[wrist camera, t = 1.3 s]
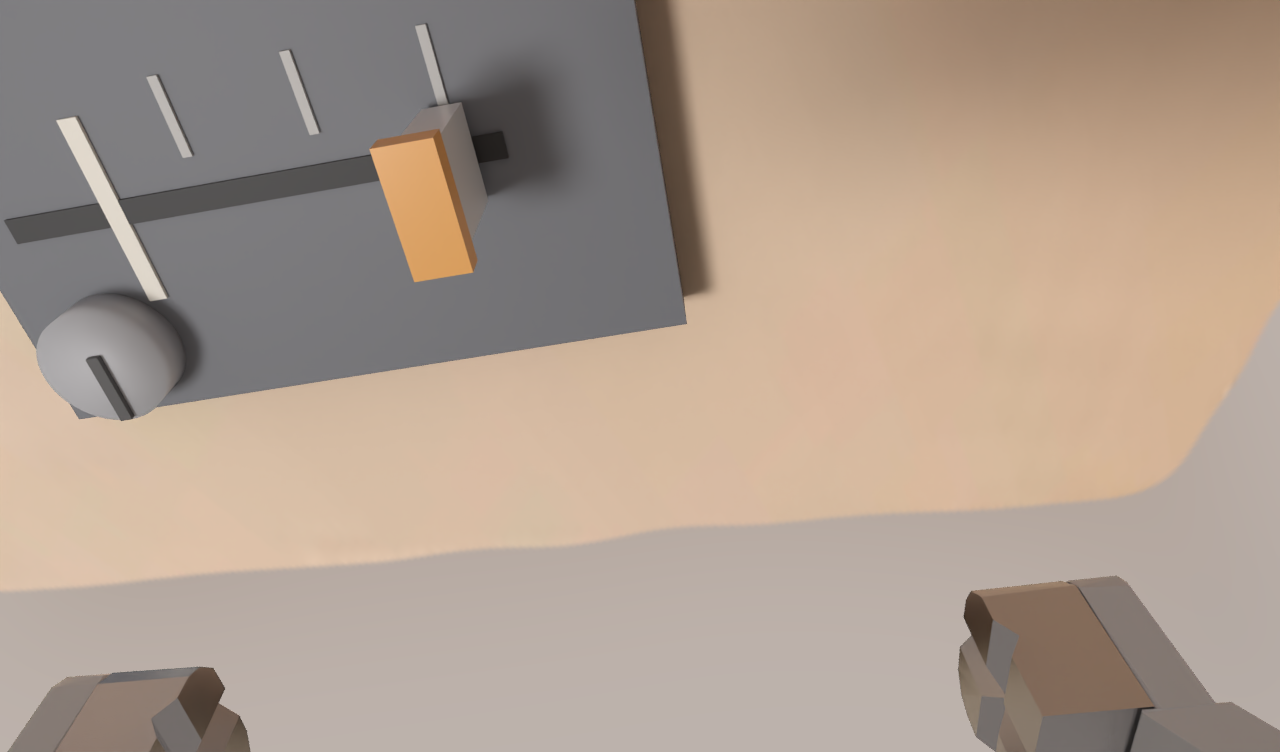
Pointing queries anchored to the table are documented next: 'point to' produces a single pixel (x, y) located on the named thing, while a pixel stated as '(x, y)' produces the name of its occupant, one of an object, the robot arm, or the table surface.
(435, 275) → the fader
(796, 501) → the table surface
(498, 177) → the console
